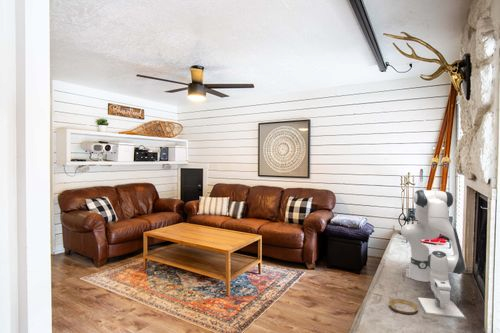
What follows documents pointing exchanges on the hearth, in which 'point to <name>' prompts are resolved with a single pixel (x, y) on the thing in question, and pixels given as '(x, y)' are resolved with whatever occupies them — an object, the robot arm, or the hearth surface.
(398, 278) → the hearth surface
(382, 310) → the hearth surface
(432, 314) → the charcoal mat
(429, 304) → the cover sheet
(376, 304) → the hearth surface
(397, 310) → the plant saucer
